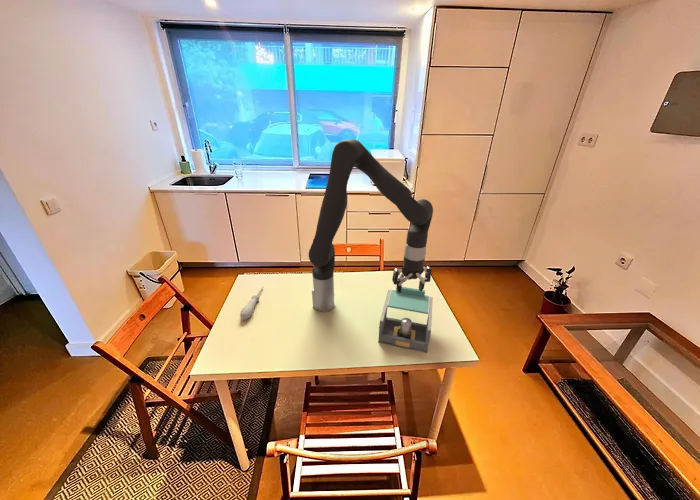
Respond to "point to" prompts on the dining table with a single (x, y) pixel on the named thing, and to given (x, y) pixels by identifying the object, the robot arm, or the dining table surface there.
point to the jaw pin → (405, 328)
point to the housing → (418, 333)
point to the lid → (409, 300)
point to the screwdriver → (249, 307)
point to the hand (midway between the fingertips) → (409, 290)
